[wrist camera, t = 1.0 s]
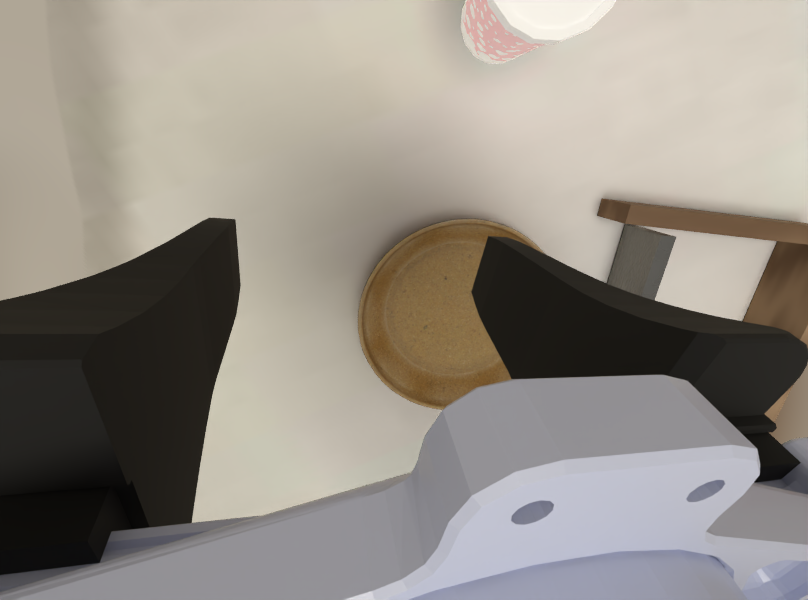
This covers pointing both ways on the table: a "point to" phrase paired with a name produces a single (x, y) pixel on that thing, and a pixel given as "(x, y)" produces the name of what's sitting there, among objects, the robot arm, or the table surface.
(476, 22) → the beverage cup
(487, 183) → the table surface
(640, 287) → the pusher plate
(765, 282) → the brown wooden open box
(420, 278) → the plant saucer
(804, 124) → the table surface
